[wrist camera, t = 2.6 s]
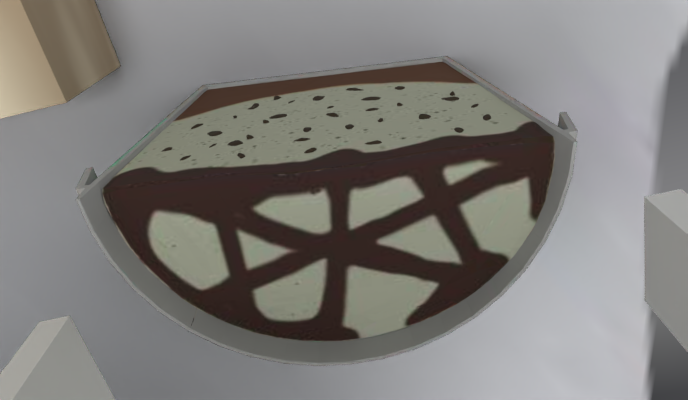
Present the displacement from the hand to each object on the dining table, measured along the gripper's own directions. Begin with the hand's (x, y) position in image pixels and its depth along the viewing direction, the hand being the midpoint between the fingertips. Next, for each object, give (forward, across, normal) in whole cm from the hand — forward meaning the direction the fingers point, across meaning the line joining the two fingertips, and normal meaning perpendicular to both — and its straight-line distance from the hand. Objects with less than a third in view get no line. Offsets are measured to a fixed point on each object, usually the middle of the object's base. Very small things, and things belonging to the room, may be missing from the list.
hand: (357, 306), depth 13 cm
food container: (+11, +1, 0) cm, 11 cm away
